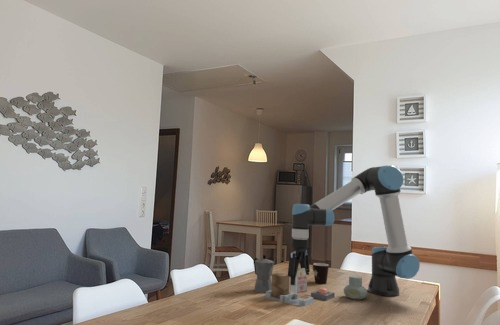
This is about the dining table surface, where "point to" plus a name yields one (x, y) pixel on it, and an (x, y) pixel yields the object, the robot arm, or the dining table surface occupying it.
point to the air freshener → (355, 288)
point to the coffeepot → (263, 274)
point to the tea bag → (301, 280)
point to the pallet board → (291, 299)
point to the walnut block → (279, 285)
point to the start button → (322, 291)
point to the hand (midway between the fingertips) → (298, 290)
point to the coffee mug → (320, 273)
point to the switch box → (322, 295)
